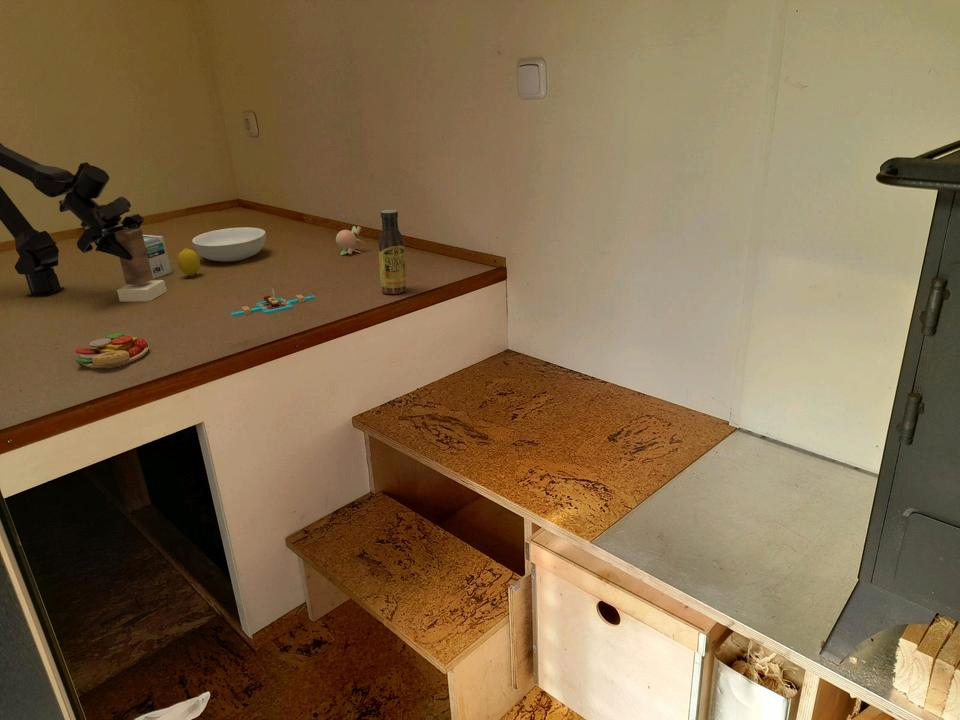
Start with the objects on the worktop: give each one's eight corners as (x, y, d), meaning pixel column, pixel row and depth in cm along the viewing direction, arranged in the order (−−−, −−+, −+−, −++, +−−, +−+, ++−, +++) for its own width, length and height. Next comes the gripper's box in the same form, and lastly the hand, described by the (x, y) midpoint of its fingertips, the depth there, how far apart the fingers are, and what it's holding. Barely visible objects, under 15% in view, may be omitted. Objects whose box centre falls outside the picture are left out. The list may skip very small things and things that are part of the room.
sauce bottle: (387, 297, 167) (378, 215, 159) (378, 290, 172) (369, 210, 164) (412, 292, 170) (405, 211, 162) (402, 285, 175) (395, 207, 167)
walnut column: (126, 284, 174) (113, 233, 168) (138, 278, 177) (125, 228, 172) (141, 284, 172) (128, 233, 167) (153, 279, 176) (141, 229, 171)
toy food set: (111, 376, 132) (107, 360, 131) (61, 368, 137) (57, 353, 135) (164, 349, 143) (160, 335, 142) (116, 343, 148) (112, 328, 147)
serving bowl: (181, 265, 203) (176, 242, 200) (229, 247, 221) (225, 225, 218) (237, 270, 196) (233, 246, 193) (283, 251, 213) (279, 228, 210)
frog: (371, 234, 207) (359, 233, 213) (350, 220, 202) (338, 219, 207) (358, 263, 206) (345, 261, 211) (336, 250, 200) (324, 249, 206)
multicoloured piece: (226, 312, 164) (236, 323, 157) (222, 290, 162) (232, 300, 155) (307, 294, 174) (320, 304, 167) (304, 274, 172) (317, 282, 164)
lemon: (195, 279, 188) (189, 251, 185) (177, 279, 189) (170, 250, 186) (206, 273, 193) (200, 245, 190) (188, 273, 194) (182, 245, 191)
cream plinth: (119, 301, 173) (116, 290, 172) (138, 291, 181) (135, 280, 179) (149, 301, 172) (146, 290, 171) (166, 291, 180) (164, 280, 178)
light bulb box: (172, 272, 196) (164, 235, 191) (153, 279, 190) (144, 241, 186) (145, 269, 200) (136, 233, 196) (126, 276, 194) (116, 238, 190)
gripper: (73, 195, 158) (126, 244, 160) (128, 181, 175) (176, 225, 177) (54, 229, 163) (106, 275, 165) (110, 212, 180) (156, 254, 182)
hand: (138, 256), depth 172 cm, fingers closed on walnut column, 4 cm apart
